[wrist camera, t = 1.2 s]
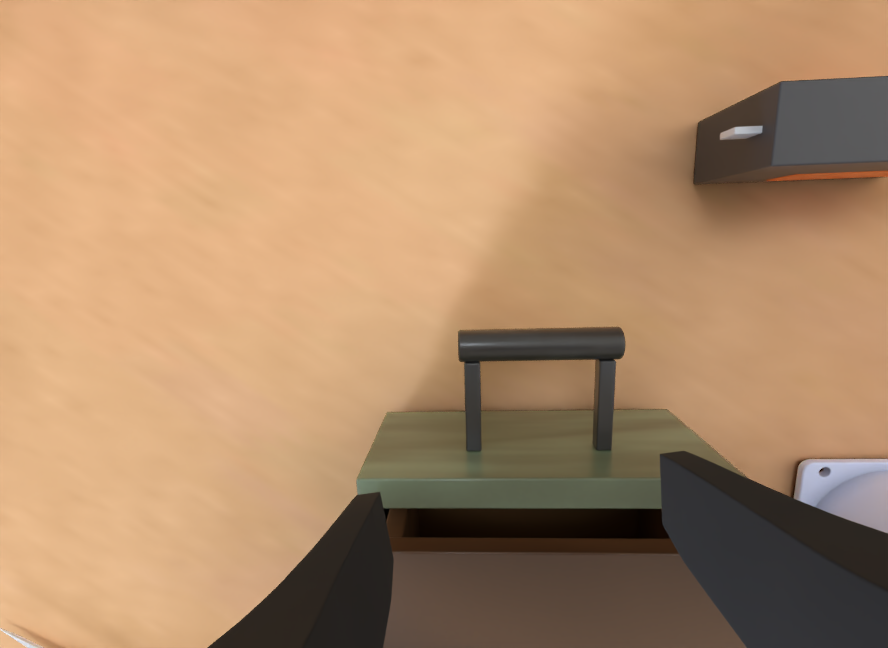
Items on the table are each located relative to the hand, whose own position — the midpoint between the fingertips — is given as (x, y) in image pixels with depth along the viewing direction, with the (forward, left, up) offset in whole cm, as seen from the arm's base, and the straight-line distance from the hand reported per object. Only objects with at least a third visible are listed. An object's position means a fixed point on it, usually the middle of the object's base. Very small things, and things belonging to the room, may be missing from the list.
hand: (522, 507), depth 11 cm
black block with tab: (-13, -10, -11) cm, 19 cm away
